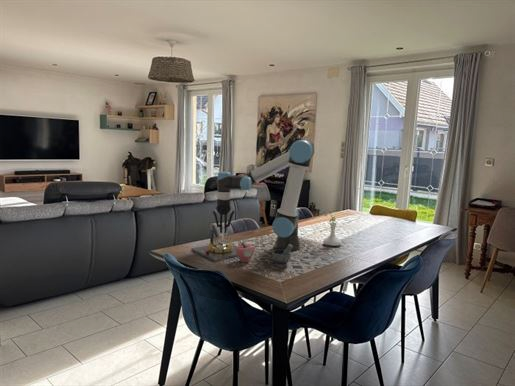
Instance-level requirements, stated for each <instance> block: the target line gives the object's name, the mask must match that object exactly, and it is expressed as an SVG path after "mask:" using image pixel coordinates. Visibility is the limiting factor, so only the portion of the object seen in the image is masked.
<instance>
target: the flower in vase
mask: <svg viewBox="0 0 515 386" xmlns="http://www.w3.org/2000/svg"><path fill="white" fill-rule="evenodd" d="M332 208H333V205H330V206H329V209H327V210H326V212H325V213H324V216H323V217H327V216H328V215H329V213H330V216H331V219H329V222H328V224H329V225H330V234H329V235H328V236H326V237H325V238H324V239H323V240H322V242H323V244H324V245H326V246H330V247H331V246H332V247H337V246H341V245H342V241H341V239H340V238H338V236H336V234H335V231H336V228H337V225H338V222H335V221H336V217H335V216H333V215H332V212H331V211H332Z"/></svg>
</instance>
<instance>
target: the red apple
mask: <svg viewBox="0 0 515 386" xmlns="http://www.w3.org/2000/svg"><path fill="white" fill-rule="evenodd" d="M236 253H237V258H238V259H239V261H240V262H241V263H248V262H249V261H250V260H251V258H252V257H253V255H254V253H255V248H254V246H253V245H251V244H244V243H243V242H241V243H240V245H239V246H238V247H237V249H236Z"/></svg>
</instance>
